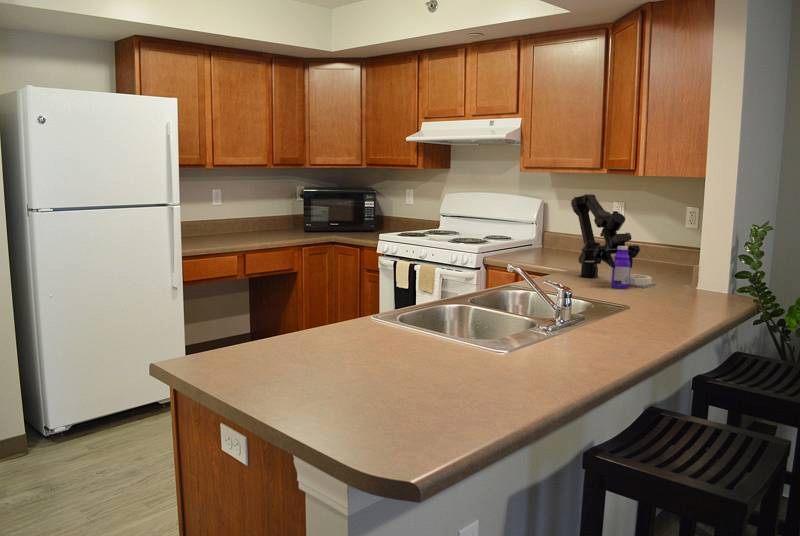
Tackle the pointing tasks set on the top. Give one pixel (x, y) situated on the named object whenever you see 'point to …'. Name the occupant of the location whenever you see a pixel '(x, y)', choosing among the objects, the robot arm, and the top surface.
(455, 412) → the top surface
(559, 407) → the top surface
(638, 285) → the dock
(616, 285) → the bottle
